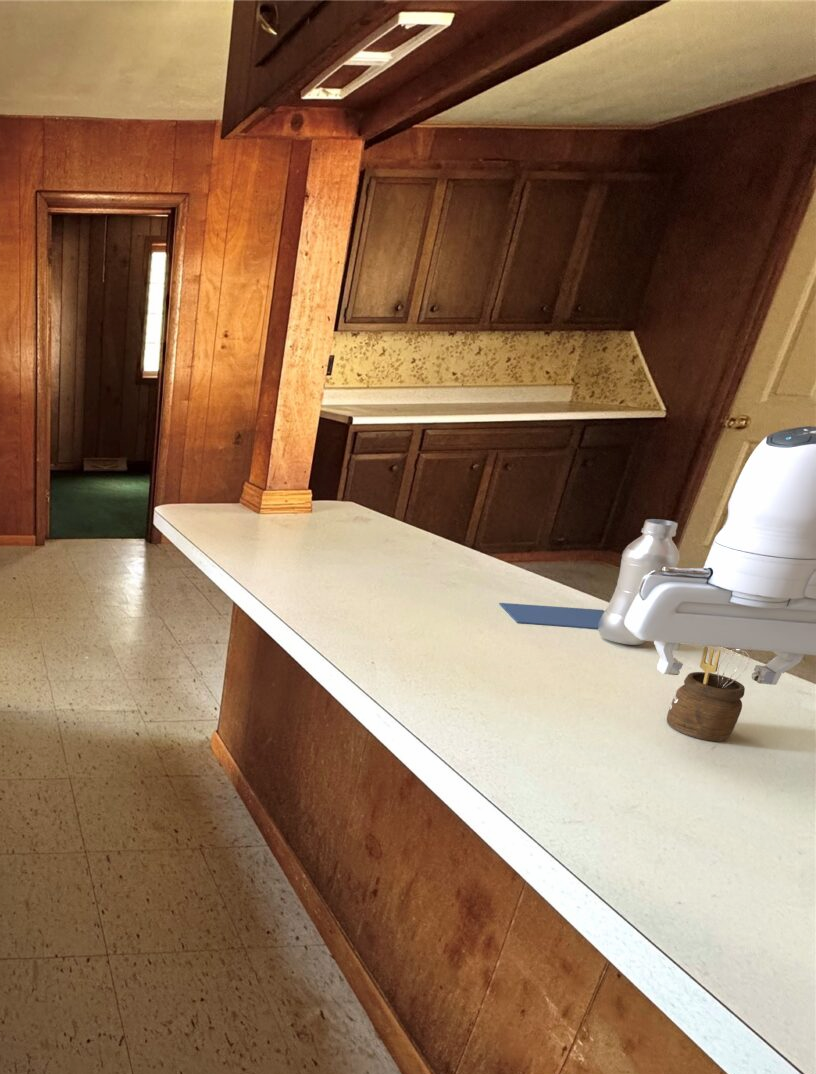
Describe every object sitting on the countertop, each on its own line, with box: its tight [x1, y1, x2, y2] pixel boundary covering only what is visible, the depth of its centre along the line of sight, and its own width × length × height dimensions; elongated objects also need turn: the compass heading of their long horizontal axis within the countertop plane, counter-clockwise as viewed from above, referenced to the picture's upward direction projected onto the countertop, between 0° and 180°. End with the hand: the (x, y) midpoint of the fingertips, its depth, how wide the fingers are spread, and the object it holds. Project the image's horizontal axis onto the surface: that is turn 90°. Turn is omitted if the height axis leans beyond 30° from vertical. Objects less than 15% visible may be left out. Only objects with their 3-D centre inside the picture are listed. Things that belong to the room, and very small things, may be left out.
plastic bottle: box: [597, 518, 681, 646], centre depth 104 cm, size 6×7×20 cm
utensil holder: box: [666, 646, 751, 742], centre depth 82 cm, size 6×6×12 cm
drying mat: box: [498, 602, 605, 630], centre depth 117 cm, size 16×9×1 cm, turn 73°
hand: (714, 677), depth 81 cm, fingers open, 8 cm apart
